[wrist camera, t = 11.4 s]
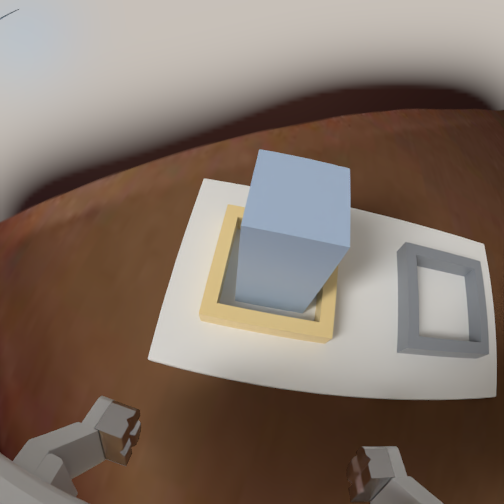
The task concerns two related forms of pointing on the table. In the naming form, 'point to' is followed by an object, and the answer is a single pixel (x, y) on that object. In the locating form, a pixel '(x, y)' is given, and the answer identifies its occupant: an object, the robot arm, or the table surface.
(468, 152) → the table surface
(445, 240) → the white board with frames
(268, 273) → the plug
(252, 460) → the table surface
